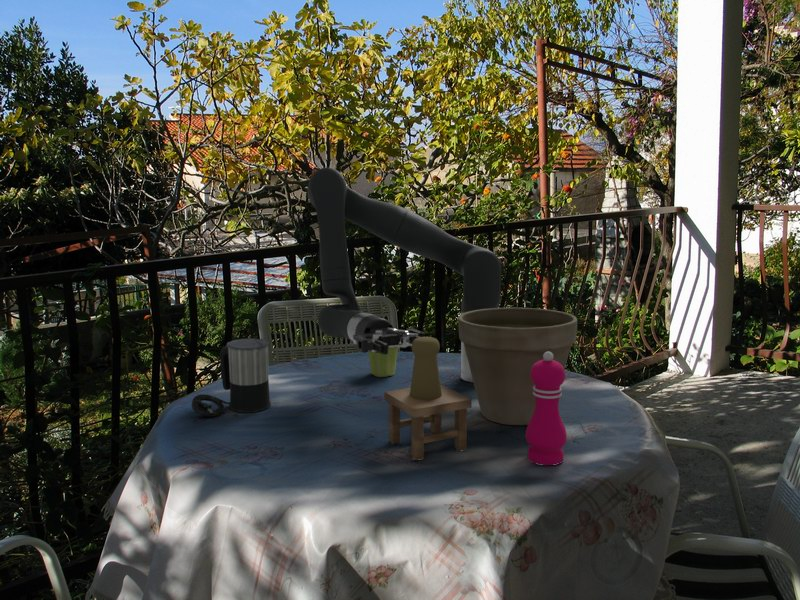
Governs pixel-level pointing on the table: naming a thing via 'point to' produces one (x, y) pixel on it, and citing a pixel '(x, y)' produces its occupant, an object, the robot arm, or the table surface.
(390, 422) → the footstool
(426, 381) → the cork
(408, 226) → the robot arm
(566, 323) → the plant pot
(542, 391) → the pepper mill
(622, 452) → the table surface
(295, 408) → the table surface
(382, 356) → the plant pot
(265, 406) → the milk frother
